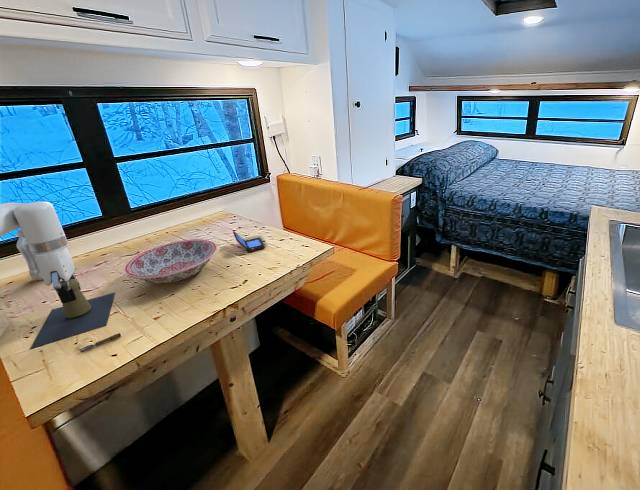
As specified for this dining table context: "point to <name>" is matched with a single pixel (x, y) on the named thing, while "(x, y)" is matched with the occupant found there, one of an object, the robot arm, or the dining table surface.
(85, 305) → the cork
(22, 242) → the plastic bottle
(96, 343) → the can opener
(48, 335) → the mat
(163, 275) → the ceramic bowl
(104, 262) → the dining table surface
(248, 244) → the handheld console
